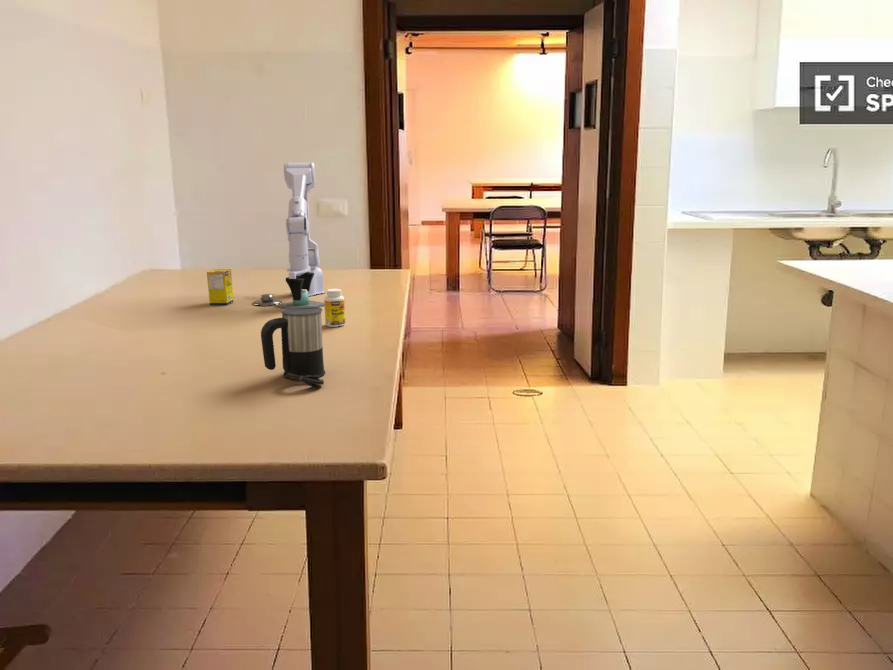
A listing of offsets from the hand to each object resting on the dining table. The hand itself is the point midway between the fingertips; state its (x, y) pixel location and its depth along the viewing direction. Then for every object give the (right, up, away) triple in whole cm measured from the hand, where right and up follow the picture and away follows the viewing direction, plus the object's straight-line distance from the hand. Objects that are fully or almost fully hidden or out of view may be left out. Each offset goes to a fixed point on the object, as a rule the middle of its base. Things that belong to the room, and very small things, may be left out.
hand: (301, 297), depth 252 cm
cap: (0, -2, +1) cm, 2 cm away
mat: (0, -3, +1) cm, 3 cm away
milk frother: (+15, -22, -78) cm, 83 cm away
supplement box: (-27, -2, +6) cm, 27 cm away
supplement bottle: (+15, -9, -27) cm, 32 cm away
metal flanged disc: (-12, -2, +5) cm, 13 cm away
